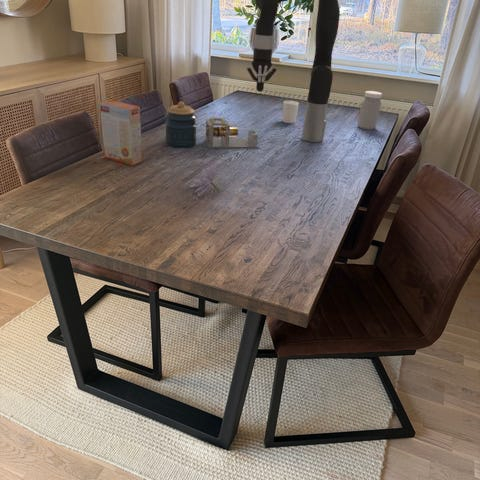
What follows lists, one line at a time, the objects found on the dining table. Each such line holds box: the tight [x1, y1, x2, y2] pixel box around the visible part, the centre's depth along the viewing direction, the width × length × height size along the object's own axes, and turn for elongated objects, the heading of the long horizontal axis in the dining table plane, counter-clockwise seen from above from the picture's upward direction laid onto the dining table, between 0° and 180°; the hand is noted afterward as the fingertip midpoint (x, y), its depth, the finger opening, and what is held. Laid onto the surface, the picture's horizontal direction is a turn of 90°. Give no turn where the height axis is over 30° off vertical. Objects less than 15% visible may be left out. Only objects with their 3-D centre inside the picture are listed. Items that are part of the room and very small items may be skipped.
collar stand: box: [204, 117, 260, 149], centre depth 190 cm, size 22×11×10 cm, turn 103°
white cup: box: [282, 100, 300, 124], centre depth 229 cm, size 8×8×10 cm
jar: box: [356, 90, 383, 131], centre depth 228 cm, size 10×10×18 cm
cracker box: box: [99, 100, 143, 166], centre depth 161 cm, size 14×6×21 cm, turn 59°
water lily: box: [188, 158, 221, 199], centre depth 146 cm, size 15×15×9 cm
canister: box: [164, 101, 197, 149], centre depth 184 cm, size 13×13×18 cm
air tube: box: [205, 126, 239, 138], centre depth 189 cm, size 13×4×4 cm, turn 103°
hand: (259, 91), depth 187 cm, fingers closed
